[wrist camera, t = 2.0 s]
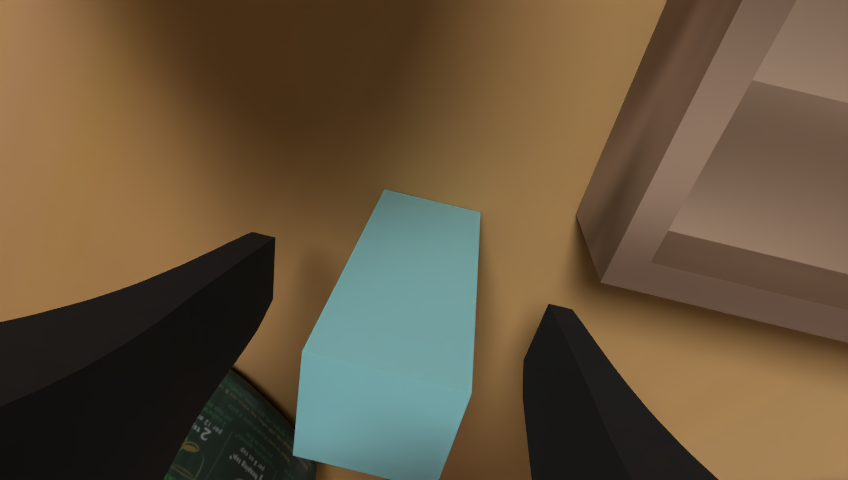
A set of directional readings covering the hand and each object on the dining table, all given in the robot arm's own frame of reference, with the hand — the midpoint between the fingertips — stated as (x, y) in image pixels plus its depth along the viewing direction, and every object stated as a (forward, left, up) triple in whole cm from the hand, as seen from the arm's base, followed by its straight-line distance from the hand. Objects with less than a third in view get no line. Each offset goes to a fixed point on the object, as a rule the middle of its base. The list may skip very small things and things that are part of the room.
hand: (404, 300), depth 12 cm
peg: (0, 0, -3) cm, 3 cm away
